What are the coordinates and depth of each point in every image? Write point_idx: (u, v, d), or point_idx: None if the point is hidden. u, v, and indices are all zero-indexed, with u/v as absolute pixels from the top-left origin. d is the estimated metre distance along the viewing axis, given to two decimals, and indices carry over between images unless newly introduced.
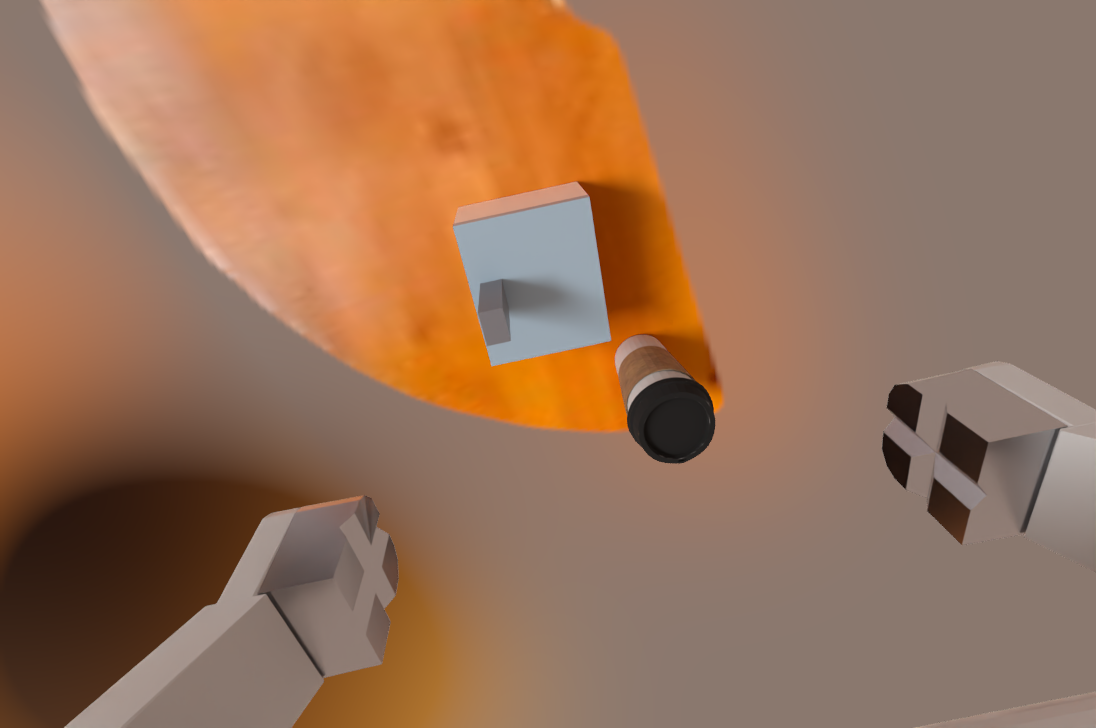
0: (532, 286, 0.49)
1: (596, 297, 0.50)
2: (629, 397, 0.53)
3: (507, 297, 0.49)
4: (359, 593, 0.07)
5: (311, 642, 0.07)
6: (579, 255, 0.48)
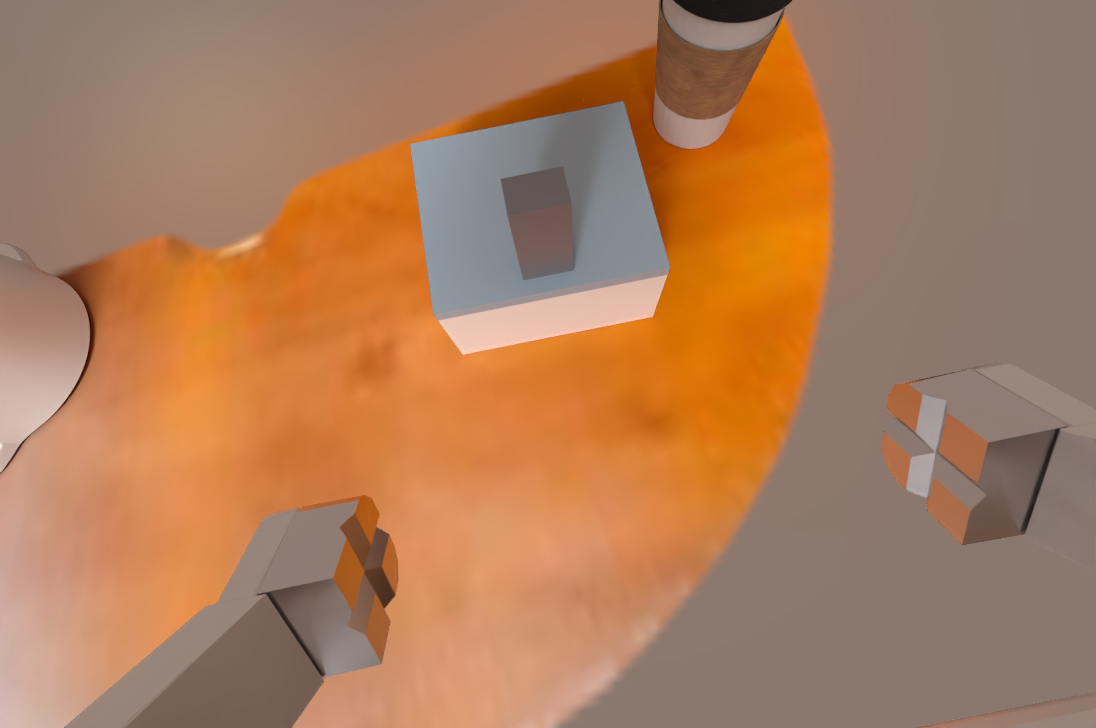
0: None
1: (552, 125, 0.34)
2: (712, 47, 0.32)
3: None
4: (358, 593, 0.07)
5: (311, 642, 0.07)
6: (488, 150, 0.34)
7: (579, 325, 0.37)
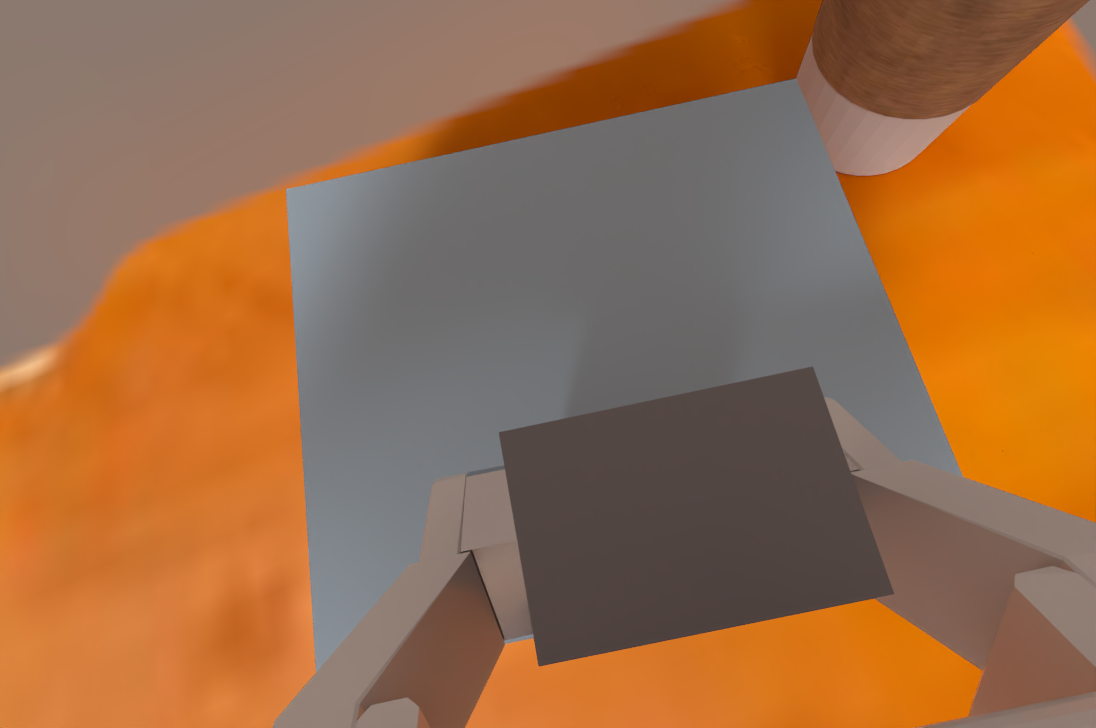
0: (585, 359, 0.12)
1: (626, 139, 0.14)
2: None
3: None
4: None
5: (501, 603, 0.07)
6: (471, 204, 0.14)
7: None
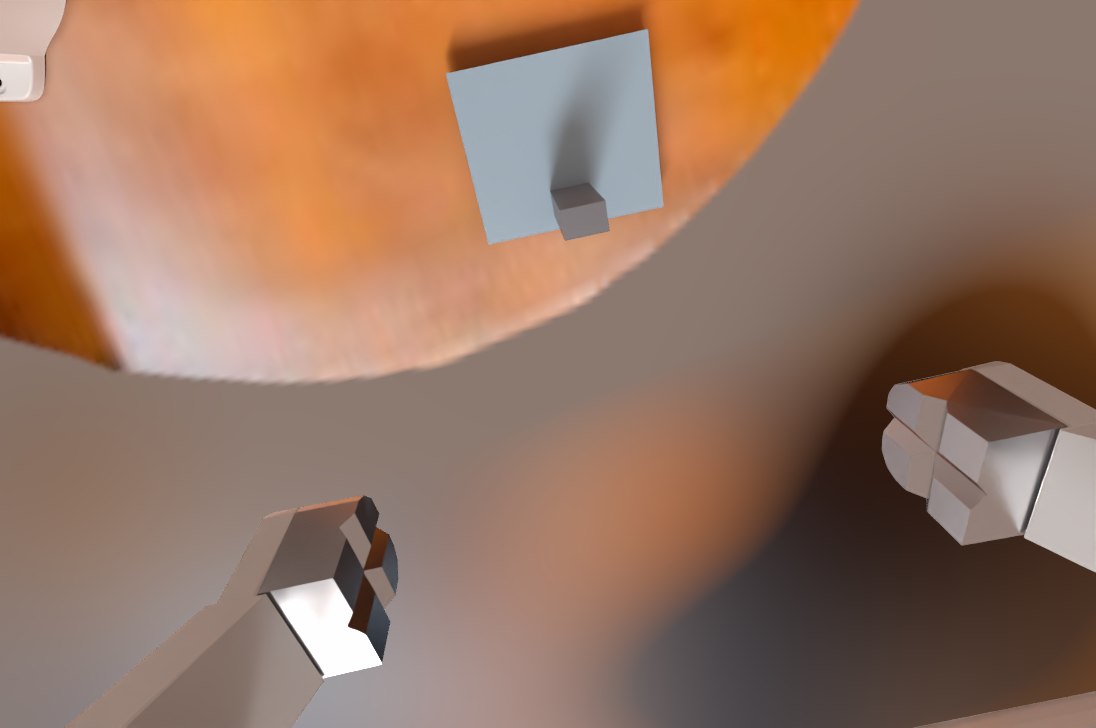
0: (561, 151, 0.39)
1: (580, 57, 0.36)
2: None
3: (573, 184, 0.40)
4: (358, 593, 0.07)
5: (311, 642, 0.07)
6: (521, 85, 0.37)
7: None
